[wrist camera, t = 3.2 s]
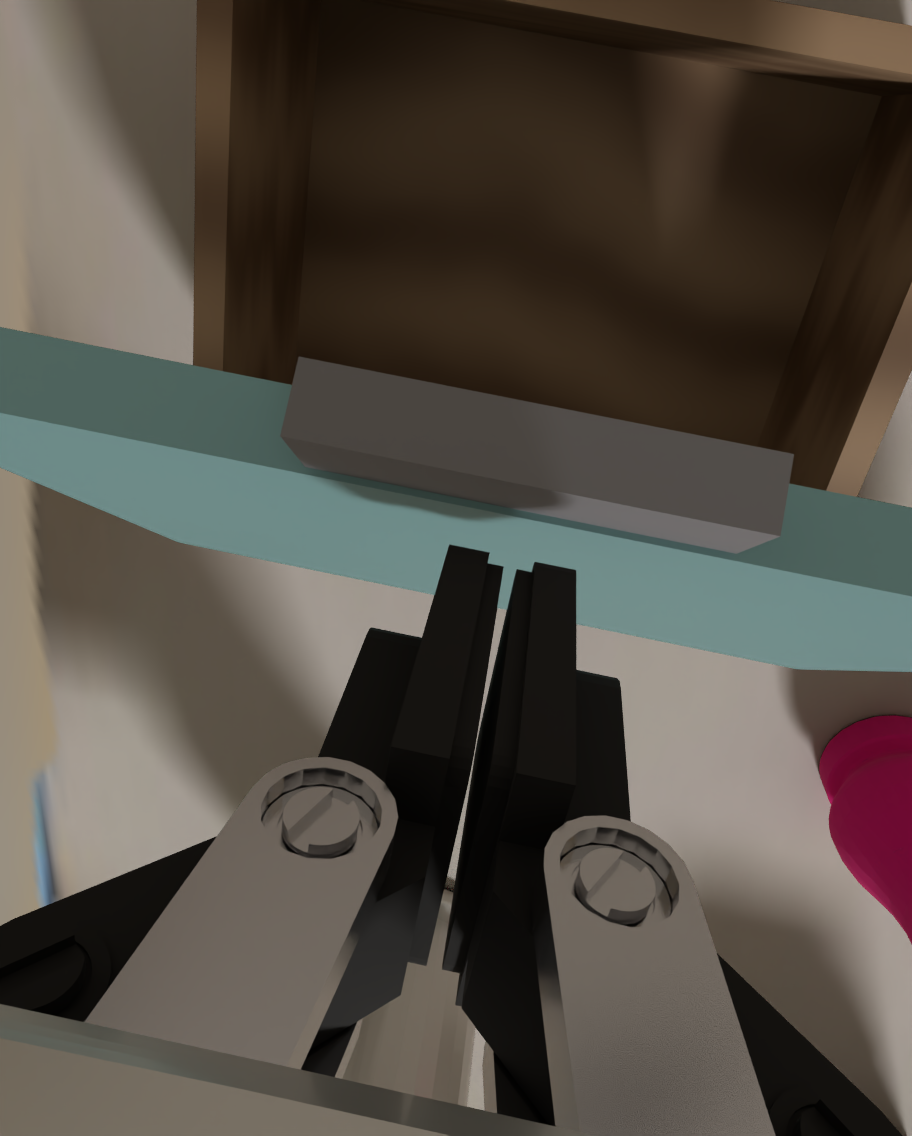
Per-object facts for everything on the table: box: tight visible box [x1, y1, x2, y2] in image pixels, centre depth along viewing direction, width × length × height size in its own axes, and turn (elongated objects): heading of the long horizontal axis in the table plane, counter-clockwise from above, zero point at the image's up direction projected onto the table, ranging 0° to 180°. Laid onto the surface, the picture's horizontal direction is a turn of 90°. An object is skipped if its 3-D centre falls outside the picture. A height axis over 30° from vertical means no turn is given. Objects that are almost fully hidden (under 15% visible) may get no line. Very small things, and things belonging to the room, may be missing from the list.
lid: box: [0, 327, 912, 672], centre depth 20 cm, size 20×22×1 cm
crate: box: [193, 0, 912, 497], centre depth 30 cm, size 18×22×10 cm
